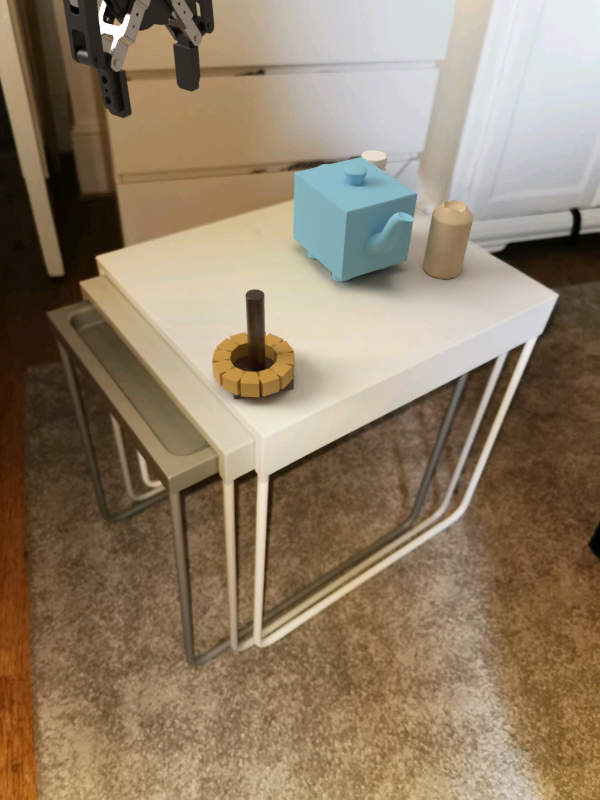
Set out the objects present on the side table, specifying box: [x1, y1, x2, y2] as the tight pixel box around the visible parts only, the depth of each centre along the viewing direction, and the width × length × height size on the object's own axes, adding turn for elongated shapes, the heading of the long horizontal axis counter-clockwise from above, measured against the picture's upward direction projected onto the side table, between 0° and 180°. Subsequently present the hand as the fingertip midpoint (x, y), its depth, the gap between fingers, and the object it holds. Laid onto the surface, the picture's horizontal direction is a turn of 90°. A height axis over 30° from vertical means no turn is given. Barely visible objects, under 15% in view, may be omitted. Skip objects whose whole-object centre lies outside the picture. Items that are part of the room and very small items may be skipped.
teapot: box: [292, 156, 418, 283], centre depth 88 cm, size 22×11×14 cm, turn 30°
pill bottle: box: [361, 149, 390, 175], centre depth 102 cm, size 5×5×9 cm
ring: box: [211, 331, 296, 398], centre depth 73 cm, size 9×9×2 cm
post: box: [231, 288, 295, 400], centre depth 71 cm, size 7×7×11 cm
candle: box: [422, 199, 474, 280], centre depth 89 cm, size 6×6×10 cm
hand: (155, 101), depth 57 cm, fingers open, 8 cm apart
